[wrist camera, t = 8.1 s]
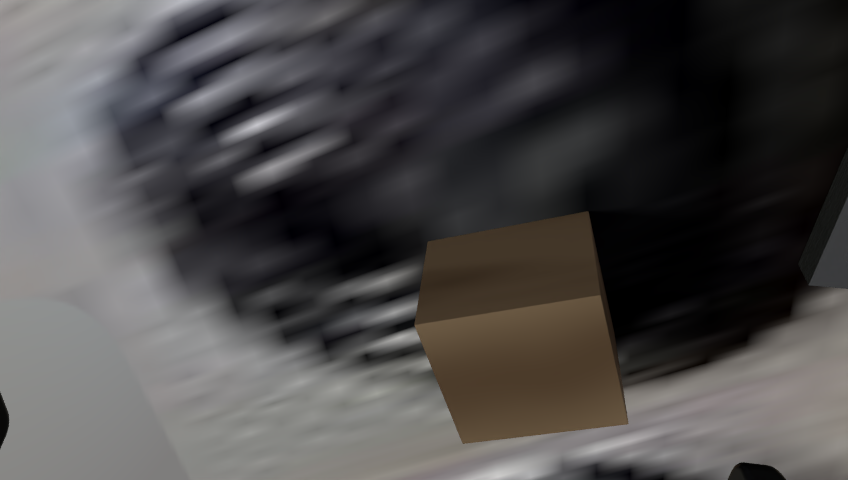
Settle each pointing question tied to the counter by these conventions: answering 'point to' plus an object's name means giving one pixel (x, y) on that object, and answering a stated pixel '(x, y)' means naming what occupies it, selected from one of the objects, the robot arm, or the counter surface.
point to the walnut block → (521, 330)
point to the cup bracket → (830, 237)
